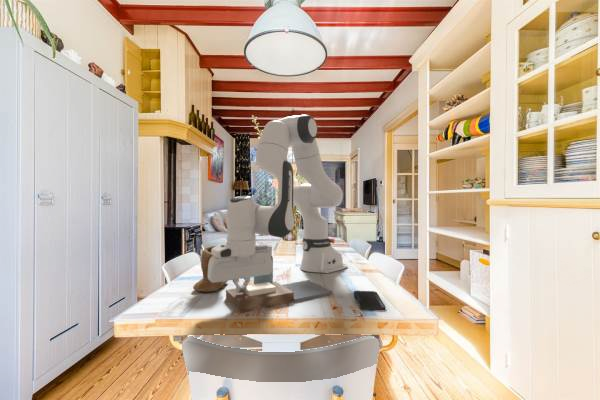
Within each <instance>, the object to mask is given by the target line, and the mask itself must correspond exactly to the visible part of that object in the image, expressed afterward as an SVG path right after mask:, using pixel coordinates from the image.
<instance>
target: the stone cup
mask: <svg viewBox="0 0 600 400" xmlns="http://www.w3.org/2000/svg"><path fill="white" fill-rule="evenodd" d="M216 246H217V245H211V246H207V247H205V248H204V249H203V250H202V253H201V259H200V267H201V272H202V278H201V279H200V280H199V281H198V282H196V283H195V284H194V285H193V287H192V289H194V290H195V291H198V292H204V293H205V292H216V291H218V290H220V289H221V288H222V287H223V286H225V284H226V283H228V281H223V282H216V283H212V282H211V281H210V280H209V279H208V264H209V260H210V258H211V257H212V256H213V255H212V253H211V249H212V248H214V247H216Z"/></svg>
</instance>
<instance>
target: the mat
mask: <svg viewBox="0 0 600 400" xmlns="http://www.w3.org/2000/svg"><path fill="white" fill-rule="evenodd" d="M281 285H282V286H284V287H286V288H287V289H289V290H291V291H293V292H294V301H293V302H294V303H298V302H303V301H308V300H312V299H317V298H323V297H325V296H330V295H333V294H334V291H333V290H331V289H329V288H327V287H326V286H325V287H324V286H323V285H320V284H319V283H316V282H314V281H312V280H310V279H307V280H303V281H302V280H301V281H295V282H291V283H290V282H289V283H284V284H281Z"/></svg>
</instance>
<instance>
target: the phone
mask: <svg viewBox="0 0 600 400" xmlns="http://www.w3.org/2000/svg"><path fill="white" fill-rule="evenodd" d="M353 295H354V298H355V300H357V301H356V303H357V305H358V306H357V307H358V309H359V308H360V309H361V311H372V310H385V309H386V305H385V303H384V302H383V301H382V298H381V297H380V295H379V293H378V292H377V291H374V290H372V291H371V290H354V292H353ZM360 309H359V310H360ZM385 311H386V310H385Z"/></svg>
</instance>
